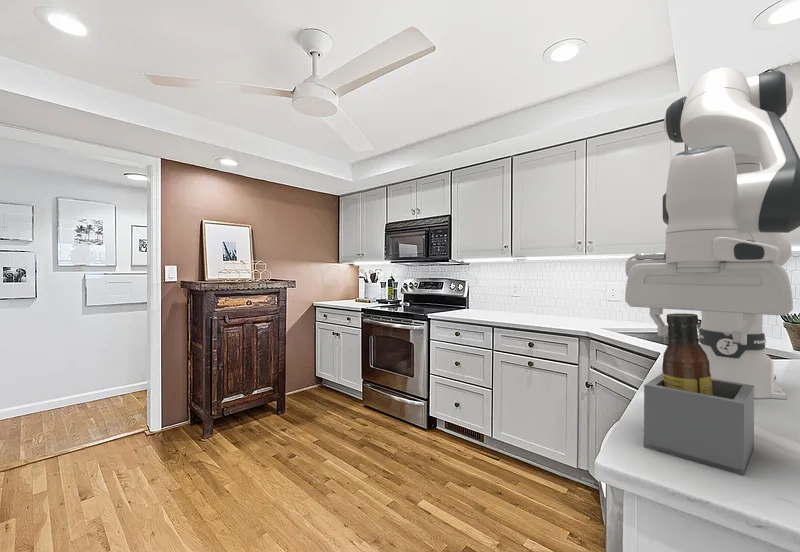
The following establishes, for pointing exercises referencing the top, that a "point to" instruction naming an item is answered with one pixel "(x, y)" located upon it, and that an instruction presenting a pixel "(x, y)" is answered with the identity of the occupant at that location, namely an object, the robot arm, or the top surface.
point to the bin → (701, 423)
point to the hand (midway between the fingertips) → (699, 339)
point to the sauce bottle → (685, 356)
